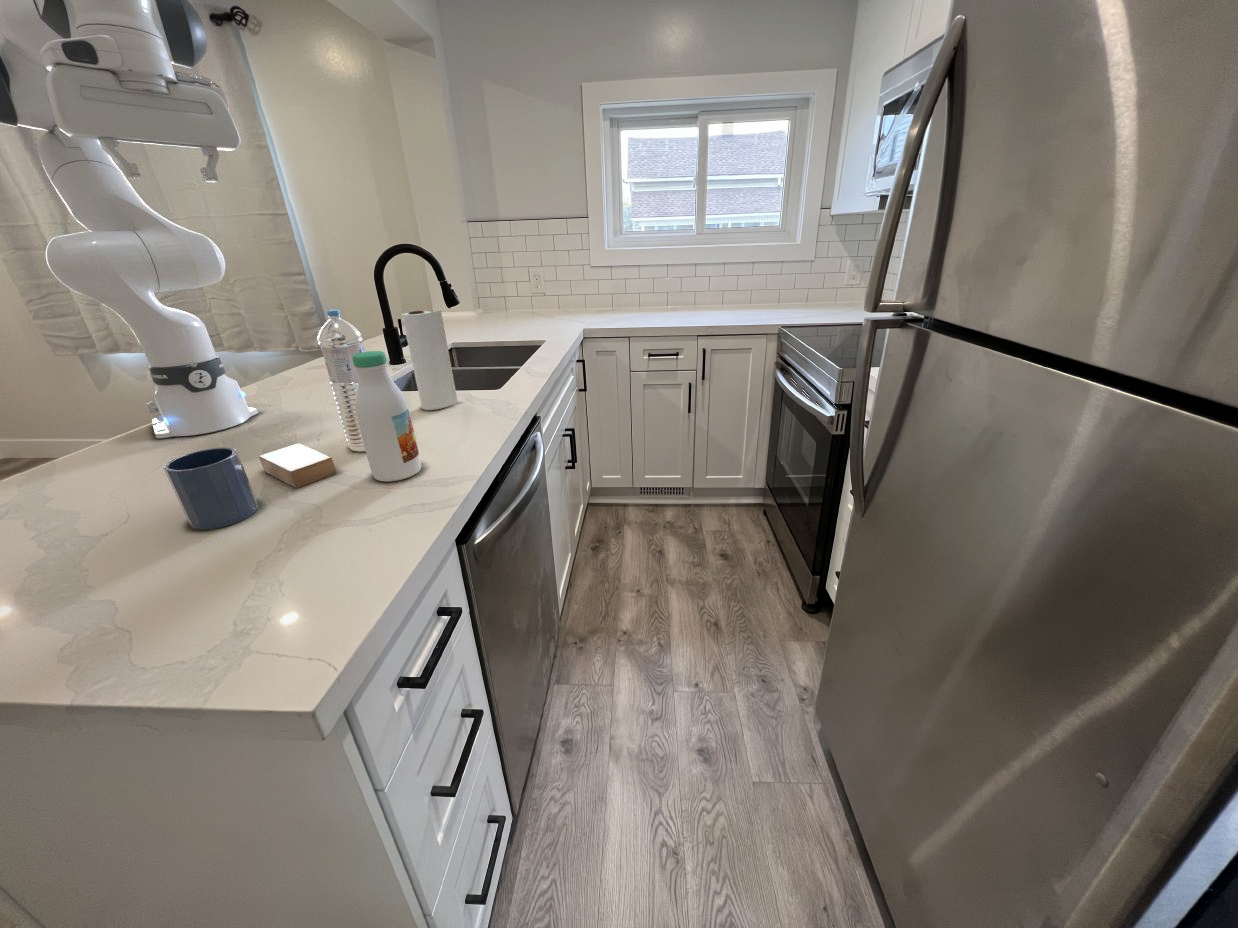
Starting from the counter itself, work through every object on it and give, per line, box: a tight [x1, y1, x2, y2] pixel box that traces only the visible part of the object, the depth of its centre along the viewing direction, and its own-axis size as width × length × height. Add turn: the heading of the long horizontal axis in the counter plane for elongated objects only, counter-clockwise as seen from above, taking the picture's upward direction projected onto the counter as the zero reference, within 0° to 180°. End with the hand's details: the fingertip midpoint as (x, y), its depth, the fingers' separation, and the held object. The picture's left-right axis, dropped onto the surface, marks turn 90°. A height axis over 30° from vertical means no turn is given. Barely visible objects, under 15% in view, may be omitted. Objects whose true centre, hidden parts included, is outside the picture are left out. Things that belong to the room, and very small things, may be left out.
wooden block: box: [258, 442, 337, 489], centre depth 84 cm, size 12×6×3 cm, turn 54°
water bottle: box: [317, 309, 366, 453], centre depth 90 cm, size 7×7×25 cm
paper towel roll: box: [401, 310, 459, 411], centre depth 111 cm, size 7×6×21 cm
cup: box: [163, 446, 259, 531], centre depth 70 cm, size 8×8×9 cm
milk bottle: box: [352, 350, 422, 482], centre depth 79 cm, size 8×8×20 cm
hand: (174, 180), depth 74 cm, fingers open, 8 cm apart
